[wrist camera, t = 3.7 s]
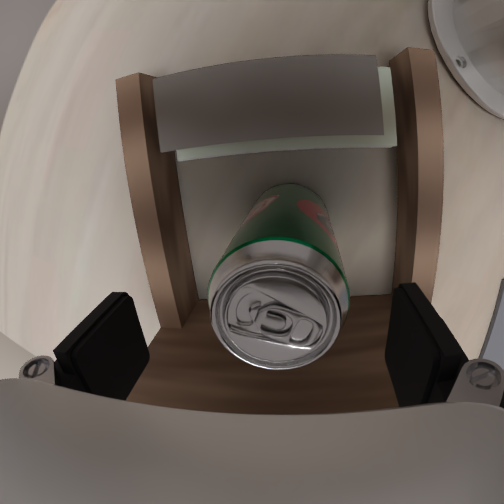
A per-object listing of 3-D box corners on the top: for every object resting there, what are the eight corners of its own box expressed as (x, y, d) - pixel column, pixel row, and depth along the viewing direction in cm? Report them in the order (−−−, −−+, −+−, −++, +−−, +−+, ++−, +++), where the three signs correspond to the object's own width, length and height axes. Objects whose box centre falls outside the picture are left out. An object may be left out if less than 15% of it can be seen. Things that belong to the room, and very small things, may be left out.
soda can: (266, 171, 20) (221, 224, 9) (339, 198, 20) (382, 283, 9) (242, 240, 22) (185, 350, 11) (310, 265, 22) (313, 393, 11)
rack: (145, 85, 19) (-22, 66, 6) (411, 63, 16) (547, -4, 3) (183, 315, 25) (102, 452, 12) (408, 309, 22) (469, 460, 9)
